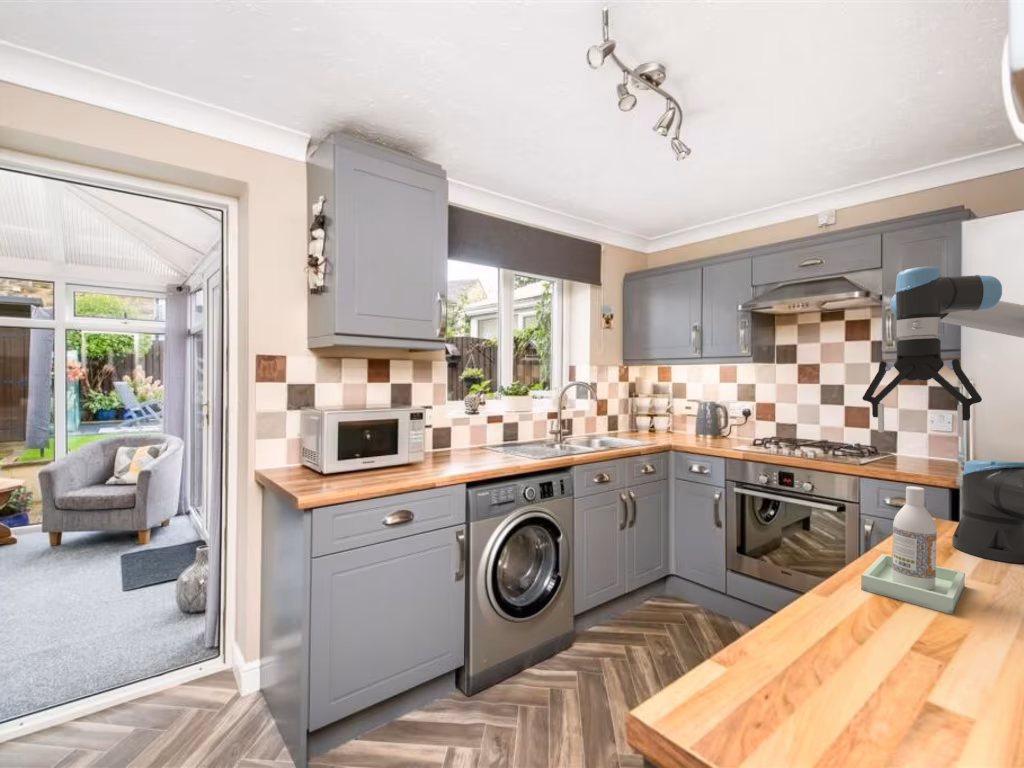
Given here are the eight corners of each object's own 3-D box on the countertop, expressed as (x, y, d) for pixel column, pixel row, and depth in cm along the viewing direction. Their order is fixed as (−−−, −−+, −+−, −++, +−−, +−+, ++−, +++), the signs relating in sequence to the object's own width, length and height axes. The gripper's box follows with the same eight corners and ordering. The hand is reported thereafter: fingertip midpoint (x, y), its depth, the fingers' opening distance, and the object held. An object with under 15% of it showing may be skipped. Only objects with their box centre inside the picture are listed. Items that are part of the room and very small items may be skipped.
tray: (881, 566, 112) (882, 553, 112) (964, 586, 102) (964, 572, 102) (861, 589, 100) (861, 574, 100) (952, 614, 90) (953, 598, 90)
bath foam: (932, 594, 96) (935, 493, 96) (888, 583, 101) (891, 487, 101) (937, 584, 101) (939, 488, 100) (895, 574, 106) (897, 482, 105)
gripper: (847, 341, 115) (848, 431, 115) (997, 333, 97) (997, 439, 97) (854, 342, 120) (855, 428, 120) (997, 334, 102) (998, 435, 103)
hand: (919, 433), depth 109 cm, fingers open, 13 cm apart
